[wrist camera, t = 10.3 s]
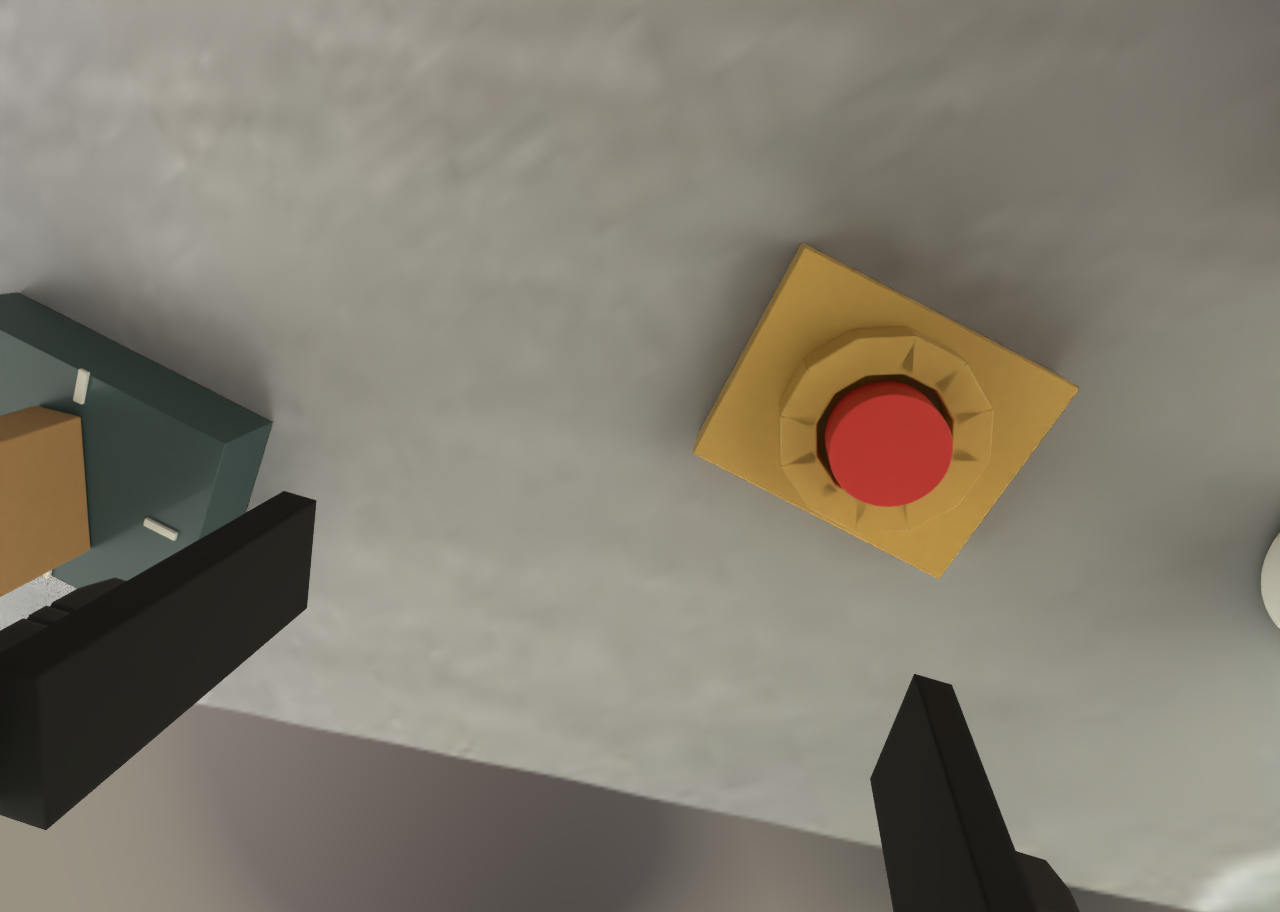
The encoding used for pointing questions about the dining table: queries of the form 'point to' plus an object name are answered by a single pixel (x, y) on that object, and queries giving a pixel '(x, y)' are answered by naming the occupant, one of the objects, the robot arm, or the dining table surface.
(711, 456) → the button box
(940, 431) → the button
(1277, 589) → the bath foam
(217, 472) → the panel
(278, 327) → the dining table surface
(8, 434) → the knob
